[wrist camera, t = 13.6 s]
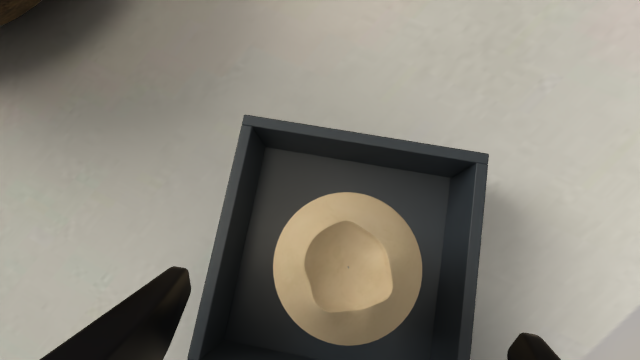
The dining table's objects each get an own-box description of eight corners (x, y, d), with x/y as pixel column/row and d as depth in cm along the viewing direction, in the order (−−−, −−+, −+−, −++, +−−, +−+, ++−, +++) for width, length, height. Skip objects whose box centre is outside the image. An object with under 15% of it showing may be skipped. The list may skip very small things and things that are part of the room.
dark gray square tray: (434, 391, 20) (463, 431, 16) (214, 346, 21) (183, 372, 16) (458, 171, 22) (489, 153, 18) (260, 139, 23) (243, 114, 19)
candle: (403, 250, 21) (467, 252, 11) (349, 325, 20) (367, 398, 11) (332, 195, 22) (333, 153, 12) (277, 266, 21) (231, 283, 11)
